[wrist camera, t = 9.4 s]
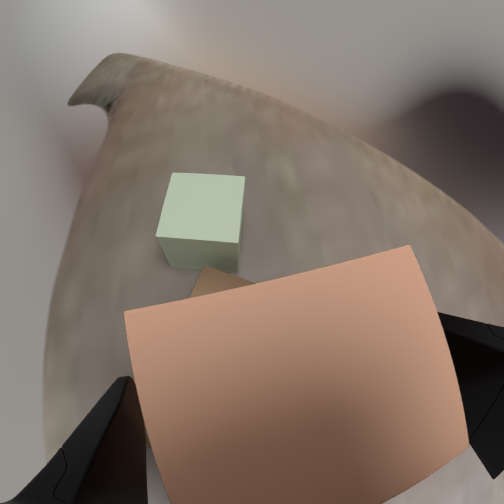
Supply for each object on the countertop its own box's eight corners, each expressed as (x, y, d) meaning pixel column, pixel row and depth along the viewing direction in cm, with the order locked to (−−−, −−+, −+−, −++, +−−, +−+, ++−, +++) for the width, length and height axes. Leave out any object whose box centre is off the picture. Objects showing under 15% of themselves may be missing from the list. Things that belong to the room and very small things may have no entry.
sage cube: (237, 274, 21) (238, 242, 17) (171, 268, 21) (155, 236, 17) (242, 216, 24) (245, 176, 19) (182, 211, 23) (172, 172, 19)
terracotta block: (322, 414, 15) (469, 445, 4) (221, 441, 14) (193, 554, 3) (300, 336, 17) (409, 244, 6) (200, 361, 16) (123, 311, 5)
